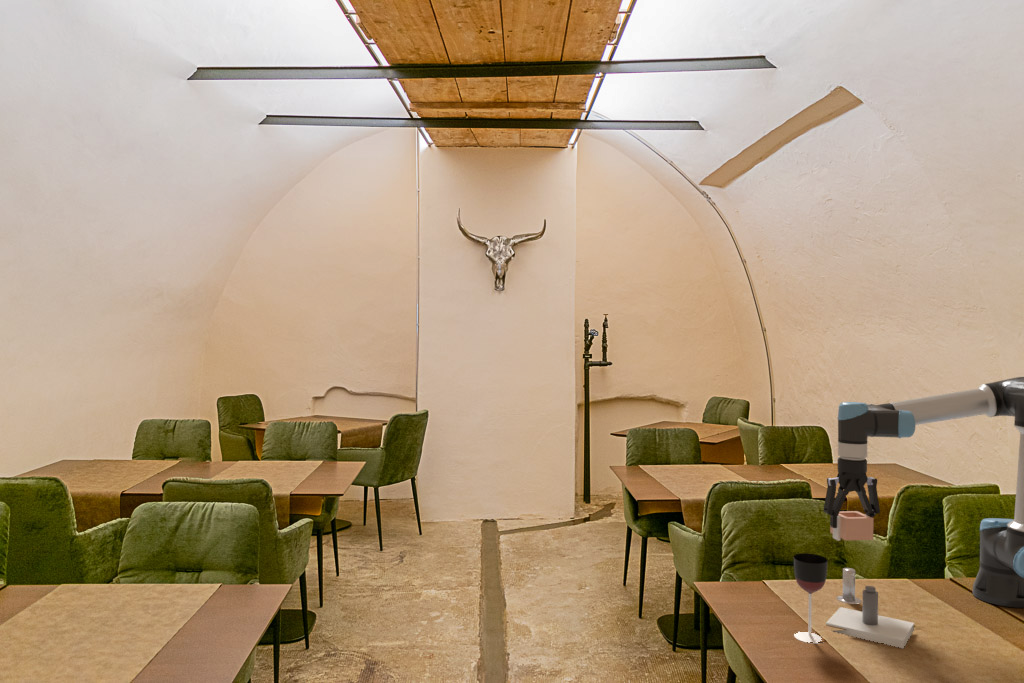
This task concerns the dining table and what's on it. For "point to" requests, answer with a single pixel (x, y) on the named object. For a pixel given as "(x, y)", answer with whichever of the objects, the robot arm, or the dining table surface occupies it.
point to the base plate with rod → (871, 622)
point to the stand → (848, 587)
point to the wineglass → (810, 585)
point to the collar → (855, 526)
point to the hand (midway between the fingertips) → (851, 538)
